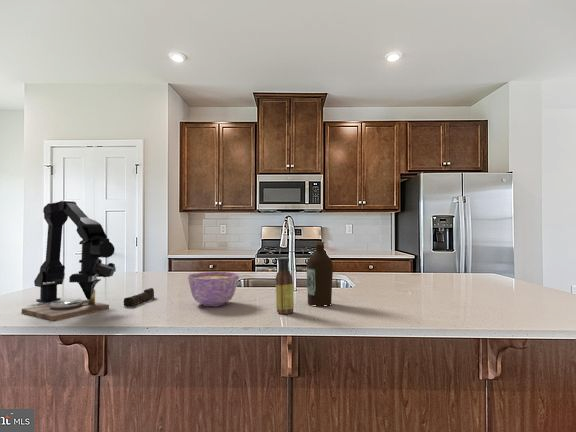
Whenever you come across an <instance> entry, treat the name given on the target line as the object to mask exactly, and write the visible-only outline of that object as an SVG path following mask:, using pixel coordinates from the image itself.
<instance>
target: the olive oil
mask: <svg viewBox="0 0 576 432" xmlns="http://www.w3.org/2000/svg"><path fill="white" fill-rule="evenodd" d="M324 244H325V242H324V241H316V242H315V250H314V251H315V252H314V253H313V254H311V256H310V257H309V258H308V259H307V261H306V262H307V263H306V268H305V269H306V285H307V286H306V289H307V304H310V305H316V306H324V305H330V304H331V305H332V300H333V299H332V296H333V295H332V293H333V273H334V264H333V261H332V258H330V256H329V255H328V254H327V252H325V245H324ZM310 305H309V306H310ZM331 305H330V306H331Z"/></svg>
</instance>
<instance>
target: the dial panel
mask: <svg viewBox="0 0 576 432" xmlns="http://www.w3.org/2000/svg"><path fill="white" fill-rule="evenodd" d="M79 299H80V300H83V299H82V298H79ZM108 309H109V310H110V304H107V303H102V302H97V301H95V304H88V303H87V304H82V306H79V307H75V308H69V309H51V308H50V303H46V304H41V305H35V306H29V307H24V308H21V314H24V313H25V314H24V315H28V316H32V317H36V318H40V319H43V320H48V321H51V322H52V321H57V320H63V319H66V318H71V317H76V316H80V315H85V314H90V313H95V312H100V311H104V310H108Z"/></svg>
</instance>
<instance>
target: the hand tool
mask: <svg viewBox="0 0 576 432" xmlns="http://www.w3.org/2000/svg"><path fill="white" fill-rule="evenodd" d="M154 297H155V290H154V288H153V287H150V288H146V289H145V290H143V292H141V293H138V294H134V295H131V296H128V297H124V298H123V306H124V307H125V308H132V307H134V306H135V305H137V304H139V303H142V302H144V301H151V300H152V299H154Z"/></svg>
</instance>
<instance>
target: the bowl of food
mask: <svg viewBox="0 0 576 432" xmlns="http://www.w3.org/2000/svg"><path fill="white" fill-rule="evenodd" d="M239 276H240V274H238V273H236V272H227V271H205V272H196V273H191V274H189V275H187V279H188V283H189V288H190V292H191V295H192V298H193V299H194V301H195V302H197V303H199V304H202V305H203V306H204V307H209V306H214V307H220V305H221V306H224V304H225V303H228V302H229V301H231V300H232V299H233V297H234V295H235V292H236V290H237V285H238V280H239Z"/></svg>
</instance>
